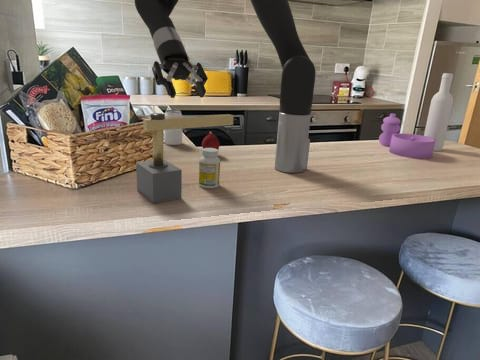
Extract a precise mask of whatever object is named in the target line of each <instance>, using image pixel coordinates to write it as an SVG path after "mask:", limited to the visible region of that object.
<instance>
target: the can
mask: <svg viewBox="0 0 480 360" xmlns="http://www.w3.org/2000/svg"><path fill="white" fill-rule="evenodd" d="M164 114H165V118H166V117H183V114H182V111H181V110H179V109H168V110H165V113H164ZM163 134H164V144H165V145H168V146H180V145H182V144H183V129H169V130H163Z"/></svg>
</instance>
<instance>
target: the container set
mask: <svg viewBox="0 0 480 360" xmlns="http://www.w3.org/2000/svg"><path fill="white" fill-rule="evenodd" d="M396 116H397V114H396V113H390V114H389V116H386V117H384V118H383V120H382V121H383V123H382V124H381V125H380V128H381V131H382V133H381V134H380V135H379V137H378V141H379V143H380V145H381V146H383V147H388V148H389V151H388V152H389V153H391V154H393V155H395V156H399V157H404V158H408V159H416V160H417V159H418V160H419V159H421V160H427V159H431V158H432V157H433V154H434V151H433V150H434V145H435V141H436V140H435V139H433V138H430V137H426V136H424V135H419V134H416V133H415V134H413V133H403V132H400V130H401V126H400V124H401V120H400V118H398V117H396ZM399 132H400V133H399Z"/></svg>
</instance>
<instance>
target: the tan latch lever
mask: <svg viewBox="0 0 480 360" xmlns="http://www.w3.org/2000/svg"><path fill="white" fill-rule="evenodd" d="M149 116H150V117H149V118H143V119H142V121H143V125H142V126H143V127H142V128H143V130H145V131H146V132H152V160H153V166H156V167H161V166H163V165H164V160H165V158H164V130H169V129H182V130H183V129H192V128H193V129H196V128H207V127H208V128H209V127H221V126H233V125H234V115H233V114H229V113H228V114H227V113H226V114H224V113H223V114H209V115H208V114H207V115H191V116H189V115H188V116H186V115H185V116H182V117H166V118H165V113H163V112H162V113H161V112H154V113H153V112H152V113H150V115H149Z"/></svg>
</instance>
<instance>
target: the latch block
mask: <svg viewBox="0 0 480 360" xmlns="http://www.w3.org/2000/svg"><path fill="white" fill-rule="evenodd" d="M135 165H136V166H135V167H136V168H135V169H136V190H137V191H138V192H139V193H141V194H142V195H143V196H144V197H145V198H146V199H148V200H149V201H150V202H151V203H152V204H159V203H163V202H168V201H173V200H179V199H182V184H183V183H182V175H183V174H182V169H181V168H180V167H178V166H176V165H174V164H172V163H171V162H168V161H167V160H166V159H164V165H163V166H161V167H156V166H153V159H151V160H145V161H136V162H135Z"/></svg>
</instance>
